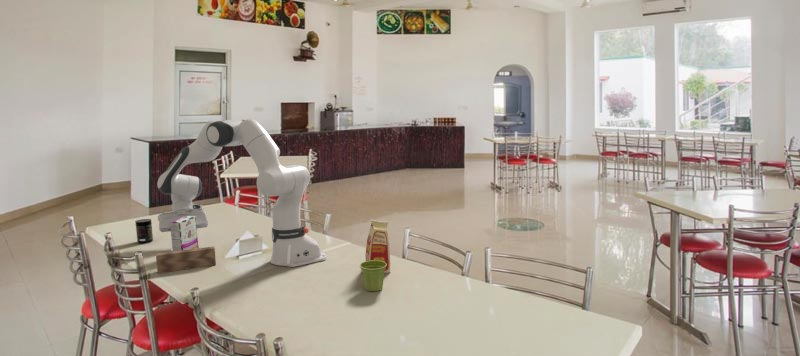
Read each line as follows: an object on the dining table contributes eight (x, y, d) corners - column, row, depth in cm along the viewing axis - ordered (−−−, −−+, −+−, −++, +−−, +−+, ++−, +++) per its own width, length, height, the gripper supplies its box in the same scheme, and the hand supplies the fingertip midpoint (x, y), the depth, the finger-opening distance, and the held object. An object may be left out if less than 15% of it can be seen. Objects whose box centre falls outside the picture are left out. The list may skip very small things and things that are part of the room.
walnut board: (215, 262, 195) (214, 246, 194) (215, 265, 193) (214, 248, 192) (157, 270, 187) (156, 253, 185) (157, 273, 184) (155, 255, 183)
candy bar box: (189, 251, 211) (186, 215, 208) (199, 252, 210) (196, 215, 207) (172, 260, 200) (169, 221, 197) (183, 260, 199) (179, 222, 196)
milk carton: (369, 274, 180) (368, 222, 177) (364, 267, 189) (363, 217, 186) (393, 272, 182) (392, 221, 179) (387, 264, 191) (386, 215, 188)
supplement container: (155, 239, 231) (153, 218, 230) (151, 243, 225) (149, 221, 223) (139, 240, 230) (137, 219, 228) (135, 244, 223) (133, 222, 222)
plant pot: (354, 289, 166) (353, 265, 164) (372, 281, 173) (372, 258, 172) (374, 295, 160) (374, 271, 159) (392, 287, 167) (392, 263, 166)
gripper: (157, 209, 214) (158, 236, 206) (206, 205, 222) (209, 230, 215) (158, 217, 218) (159, 243, 211) (206, 212, 227) (209, 237, 220)
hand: (185, 236), depth 213 cm, fingers closed
